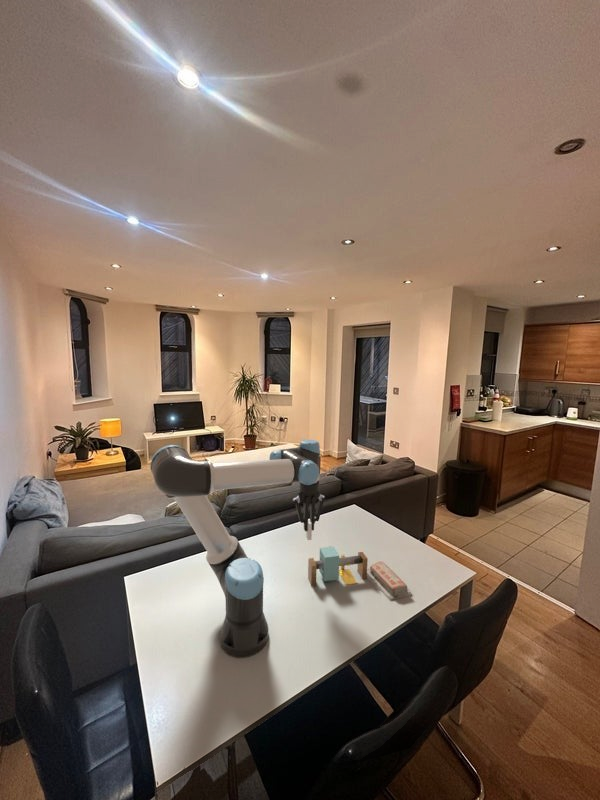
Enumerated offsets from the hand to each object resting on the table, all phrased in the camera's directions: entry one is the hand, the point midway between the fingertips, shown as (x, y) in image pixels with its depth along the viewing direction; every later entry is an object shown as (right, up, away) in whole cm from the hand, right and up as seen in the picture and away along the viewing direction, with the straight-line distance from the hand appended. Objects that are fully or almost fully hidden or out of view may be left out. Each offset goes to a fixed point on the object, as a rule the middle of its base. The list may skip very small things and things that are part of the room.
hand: (308, 538), depth 129 cm
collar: (+8, -16, +4) cm, 19 cm away
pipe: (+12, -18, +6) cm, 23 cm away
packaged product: (+32, -20, +3) cm, 37 cm away
